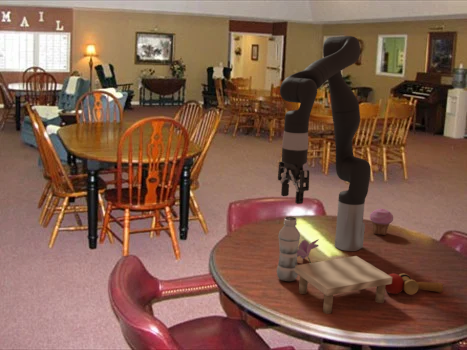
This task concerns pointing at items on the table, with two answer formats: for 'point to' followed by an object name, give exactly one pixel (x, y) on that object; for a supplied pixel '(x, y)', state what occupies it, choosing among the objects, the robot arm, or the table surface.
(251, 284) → the table surface
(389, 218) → the cupcake
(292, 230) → the plastic bottle
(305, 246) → the lily
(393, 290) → the kendama
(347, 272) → the footstool
